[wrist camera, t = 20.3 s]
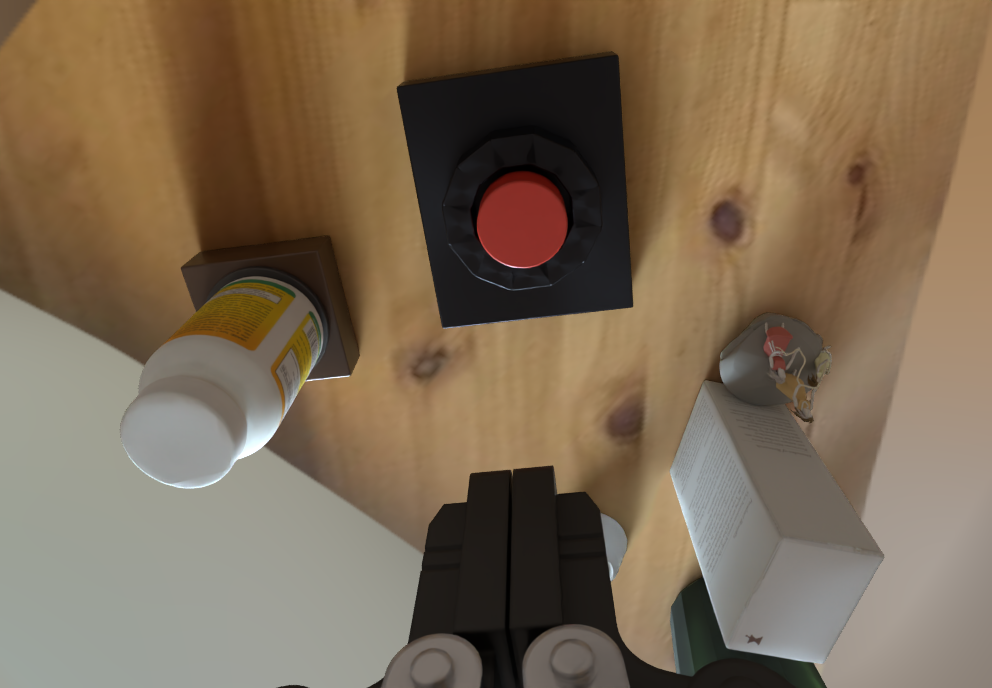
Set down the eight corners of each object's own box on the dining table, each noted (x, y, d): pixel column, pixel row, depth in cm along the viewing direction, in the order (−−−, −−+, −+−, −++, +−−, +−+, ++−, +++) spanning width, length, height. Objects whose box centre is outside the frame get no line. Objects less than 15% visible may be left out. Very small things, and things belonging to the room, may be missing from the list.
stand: (199, 251, 34) (176, 269, 32) (330, 234, 34) (316, 252, 31) (239, 369, 37) (220, 393, 35) (360, 355, 37) (349, 380, 34)
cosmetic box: (742, 483, 39) (823, 669, 29) (667, 469, 39) (721, 652, 28) (783, 390, 37) (890, 557, 26) (703, 375, 36) (778, 537, 26)
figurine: (713, 389, 37) (745, 458, 31) (707, 312, 35) (741, 371, 29) (819, 373, 36) (871, 441, 31) (819, 294, 34) (874, 351, 29)
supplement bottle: (349, 338, 33) (288, 460, 25) (267, 395, 35) (184, 528, 26) (267, 249, 31) (171, 347, 23) (185, 313, 33) (66, 428, 24)
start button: (472, 176, 29) (470, 187, 28) (560, 164, 29) (563, 174, 27) (485, 259, 31) (483, 273, 29) (569, 249, 30) (571, 263, 29)
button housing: (402, 81, 30) (388, 92, 27) (613, 50, 30) (624, 58, 27) (445, 314, 35) (438, 346, 32) (628, 293, 34) (639, 324, 31)
